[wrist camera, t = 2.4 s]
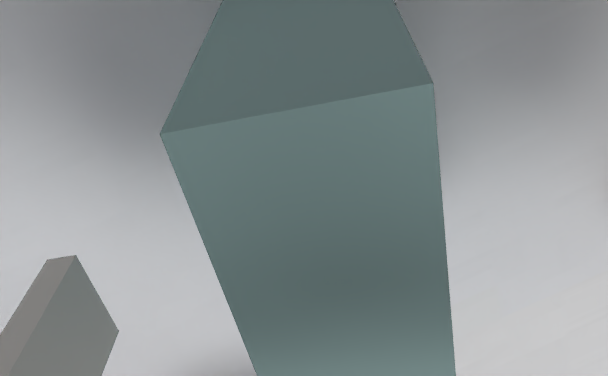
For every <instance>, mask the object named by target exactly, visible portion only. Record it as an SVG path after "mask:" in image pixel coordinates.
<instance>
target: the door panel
mask: <svg viewBox="0 0 608 376" xmlns="http://www.w3.org/2000/svg"><path fill="white" fill-rule="evenodd" d="M160 136H161V138H162V141H163V143H164V146H165V148H166V151H167V153H168V156H169V158H170V161H171V163H172V166H173V168H174V171H175V173H176V176H177V178H178V181H179V183H180V185H181V188H182V190H183V193H184V195H185V198H186V200H187V203H188V205H189V208H190V210H191V213H192V215H193V218H194V220H195V223H196V225H197V228H198V230H199V233H200V235H201V238H202V240H203V243H204V245H205V247H206V250H207V252H208V255H209V257H210V260H211V262H212V265H213V267H214V270H215V272H216V275H217V277H218V280H219V282H220V285H221V287H222V290H223V292H224V295H225V297H226V300H227V302H228V305H229V307H230V310H231V312H232V314H233V317H234V319H235V322H236V324H237V327H238V329H239V332H240V334H241V337H242V339H243V342H244V344H245V347H246V349H247V352H248V354H249V357H250V359H251V362H252V364H253V367H254V369H255V372H256V374H257V376H456V372H455V359H454V346H453V333H452V320H451V307H450V294H449V281H448V268H447V255H446V242H445V229H444V216H443V203H442V190H441V177H440V164H439V152H438V139H437V126H436V113H435V100H434V87H433V82H432V80H431V77H430V75H429V73H428V71H427V69H426V67H425V65H424V63H423V61H422V59H421V57H420V55H419V53H418V51H417V49H416V47H415V44H414V42H413V40H412V38H411V36H410V34H409V32H408V30H407V28H406V26H405V24H404V22H403V20H402V18H401V16H400V14H399V12H398V9H397V7H396V5H395V3H394V1H393V0H223V2H222V4H221V6H220V8H219V10H218V12H217V14H216V16H215V18H214V21H213V23H212V25H211V27H210V29H209V31H208V33H207V35H206V37H205V40H204V42H203V44H202V46H201V48H200V50H199V52H198V54H197V56H196V59H195V61H194V63H193V65H192V67H191V69H190V71H189V73H188V75H187V78H186V80H185V82H184V84H183V86H182V88H181V90H180V92H179V94H178V97H177V99H176V101H175V103H174V105H173V107H172V109H171V111H170V114H169V116H168V118H167V120H166V122H165V124H164V126H163V128H162V130H161V133H160Z"/></svg>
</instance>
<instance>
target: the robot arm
mask: <svg viewBox="0 0 608 376" xmlns="http://www.w3.org/2000/svg"><path fill="white" fill-rule="evenodd" d="M118 332H119V330H118V329H117V327H116V325H115V323H114V322H113V320H112V318H111V316H110V315H109V313H108V311H107V309H106V307H105V306H104V304H103V302H102V300H101V299H100V297H99V295H98V293H97V292H96V290H95V288H94V286H93V285H92V283H91V281H90V279H89V277H88V276H87V274H86V272H85V270H84V269H83V267H82V265H81V263H80V262H79V260H78V258H77V256H76V255H74V256H67V257H61V258H55V259H49V260H47V261H46V263H45V264H44V266H43V267H42V269H41V271H40V272H39V274H38V275H37V277H36V279H35V280H34V282H33V283H32V285H31V287H30V288H29V290H28V291H27V293H26V295H25V296H24V298H23V299H22V301H21V303H20V304H19V306H18V307H17V309H16V311H15V312H14V314H13V315H12V317H11V319H10V320H9V322H8V323H7V325H6V327H5V328H4V330H3V331H2V333H1V335H0V376H102V373H103V370H104V368H105V365H106V363H107V360H108V358H109V355H110V353H111V350H112V347H113V345H114V342H115V340H116V337H117V335H118Z"/></svg>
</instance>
